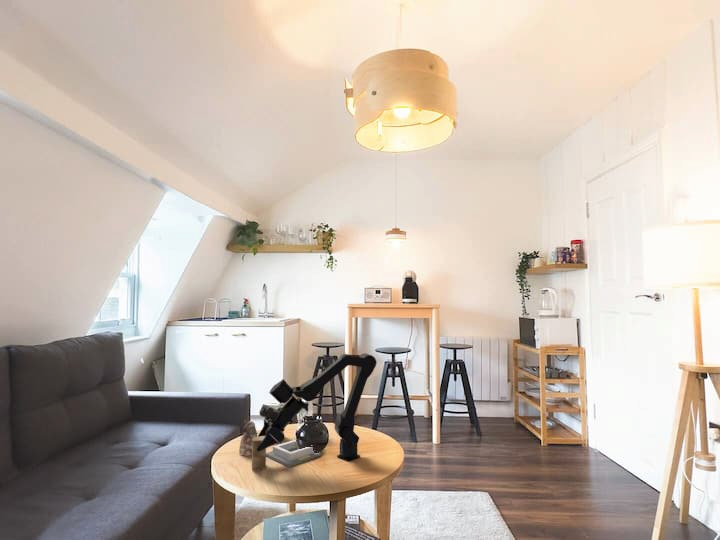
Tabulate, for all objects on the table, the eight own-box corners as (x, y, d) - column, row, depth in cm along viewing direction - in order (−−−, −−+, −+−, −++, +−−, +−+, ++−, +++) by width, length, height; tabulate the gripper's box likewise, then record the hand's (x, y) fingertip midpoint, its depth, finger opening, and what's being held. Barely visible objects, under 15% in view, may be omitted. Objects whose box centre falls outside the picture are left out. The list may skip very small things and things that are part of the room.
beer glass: (315, 433, 180) (315, 399, 181) (308, 438, 174) (308, 402, 175) (301, 432, 182) (301, 398, 184) (293, 436, 176) (294, 401, 177)
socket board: (320, 455, 154) (321, 446, 155) (288, 467, 144) (288, 457, 144) (296, 446, 165) (297, 437, 165) (265, 456, 154) (265, 446, 154)
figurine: (247, 457, 152) (248, 424, 153) (235, 453, 156) (236, 421, 157) (262, 451, 158) (262, 420, 159) (249, 448, 162) (250, 417, 163)
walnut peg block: (264, 464, 146) (265, 435, 147) (265, 469, 142) (266, 439, 143) (251, 465, 145) (252, 436, 146) (252, 470, 141) (252, 441, 141)
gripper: (271, 391, 156) (240, 423, 151) (275, 403, 138) (240, 439, 134) (291, 411, 157) (261, 442, 153) (298, 425, 139) (264, 461, 135)
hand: (256, 445), depth 144 cm, fingers open, 9 cm apart
